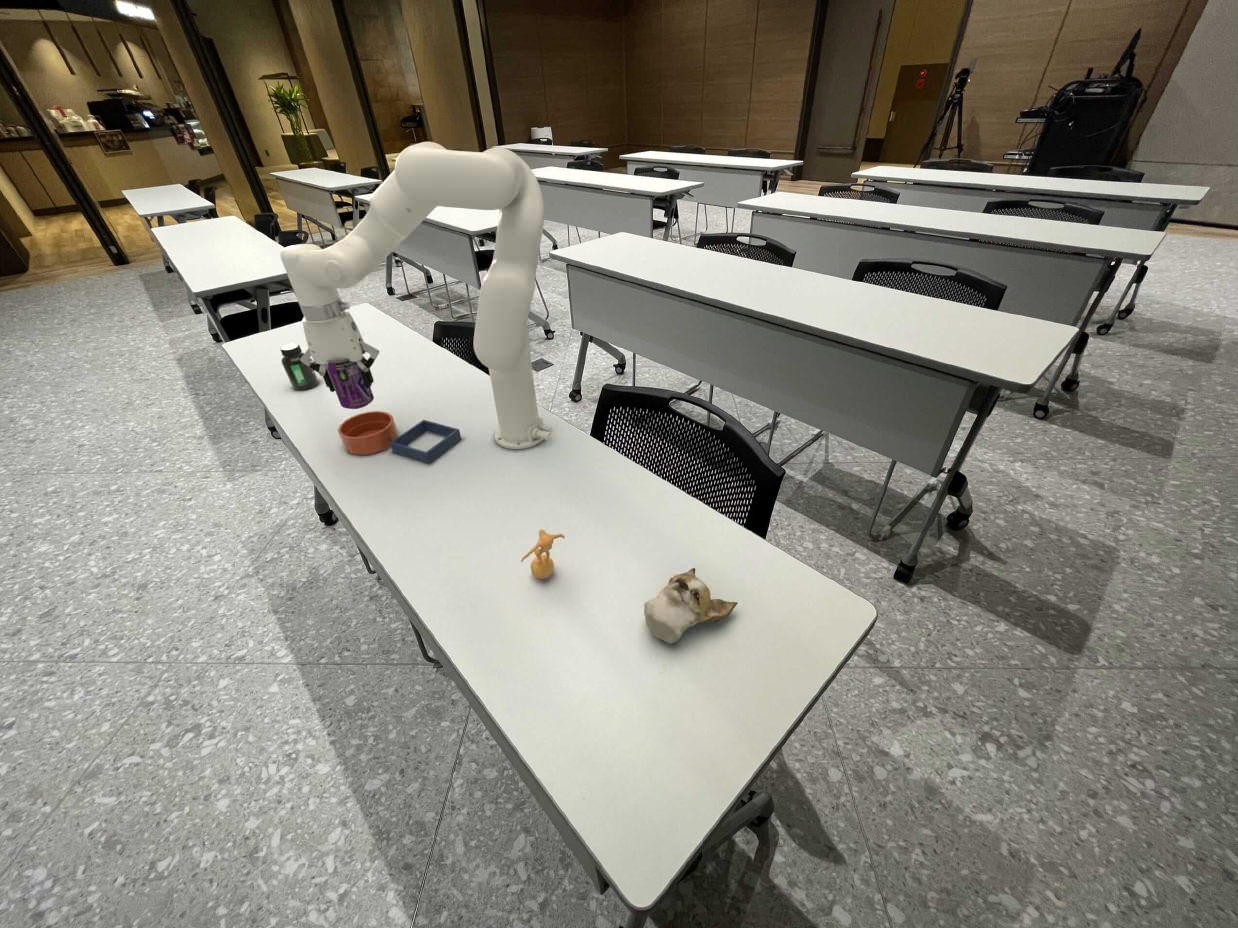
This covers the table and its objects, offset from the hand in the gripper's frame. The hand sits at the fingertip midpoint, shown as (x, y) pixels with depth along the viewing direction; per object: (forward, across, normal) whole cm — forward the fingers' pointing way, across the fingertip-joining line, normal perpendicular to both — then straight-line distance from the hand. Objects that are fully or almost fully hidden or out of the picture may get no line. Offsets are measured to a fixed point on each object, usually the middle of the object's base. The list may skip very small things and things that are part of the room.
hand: (351, 386), depth 114 cm
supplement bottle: (+15, +26, -36) cm, 47 cm away
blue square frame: (+15, -14, +5) cm, 21 cm away
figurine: (+15, -39, +52) cm, 67 cm away
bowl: (+15, 0, 0) cm, 15 cm away
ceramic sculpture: (+15, -60, +64) cm, 89 cm away
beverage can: (+5, 0, 0) cm, 5 cm away
